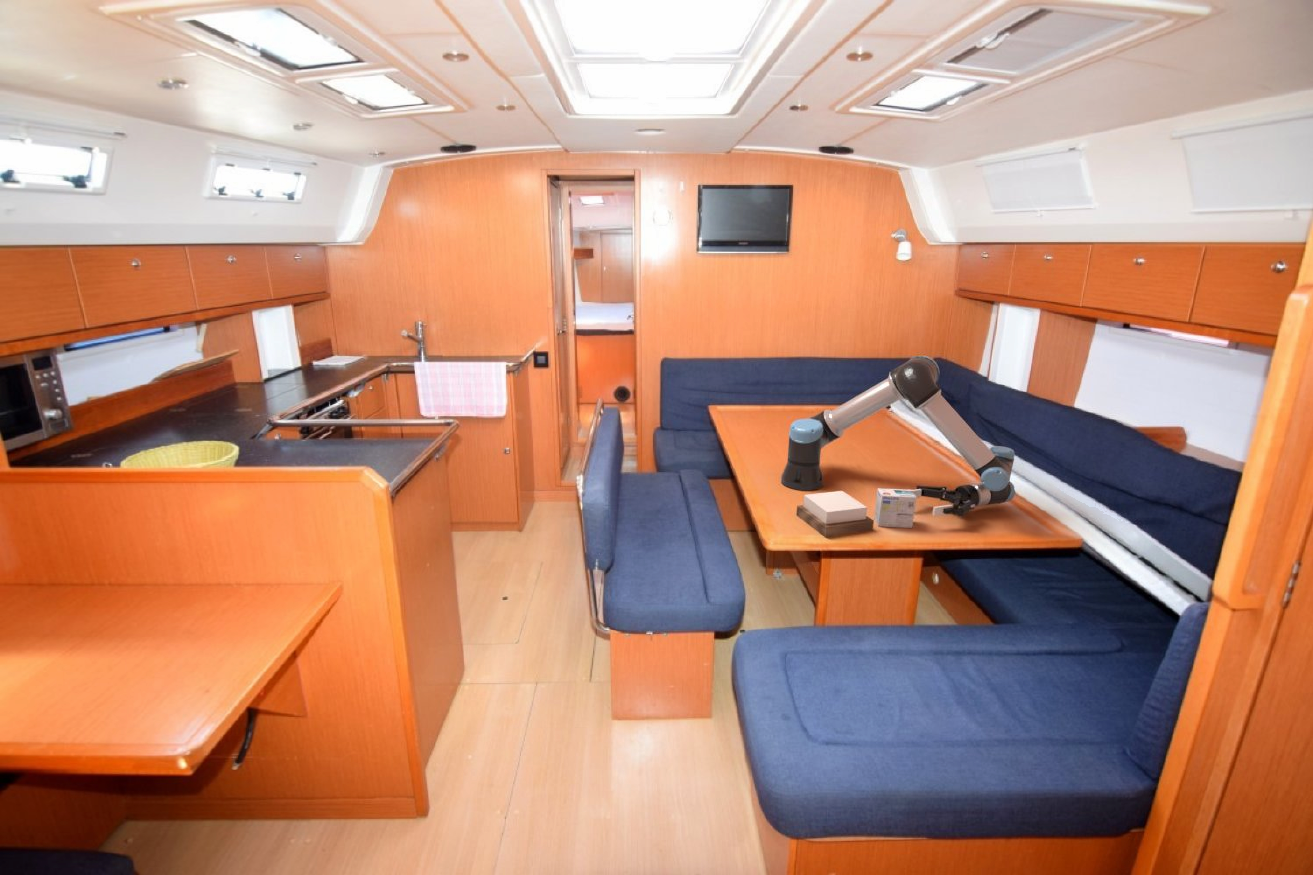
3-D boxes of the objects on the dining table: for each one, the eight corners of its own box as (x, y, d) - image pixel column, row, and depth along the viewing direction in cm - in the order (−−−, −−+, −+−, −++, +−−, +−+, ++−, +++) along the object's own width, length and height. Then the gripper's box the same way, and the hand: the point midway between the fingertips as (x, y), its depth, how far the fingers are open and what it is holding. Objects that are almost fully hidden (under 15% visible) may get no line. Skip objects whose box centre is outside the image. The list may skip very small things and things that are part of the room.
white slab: (803, 506, 200) (804, 494, 199) (840, 501, 204) (842, 490, 203) (825, 524, 188) (827, 512, 186) (865, 519, 191) (867, 507, 190)
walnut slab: (796, 516, 202) (797, 505, 201) (840, 510, 207) (841, 499, 206) (825, 539, 187) (826, 527, 186) (872, 532, 192) (873, 520, 191)
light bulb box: (906, 519, 199) (911, 488, 196) (913, 528, 193) (917, 496, 190) (873, 518, 200) (876, 487, 197) (878, 526, 194) (882, 495, 191)
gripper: (1000, 521, 194) (945, 530, 187) (942, 492, 216) (891, 499, 210) (1004, 499, 191) (949, 507, 185) (945, 472, 214) (894, 478, 208)
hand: (918, 503), depth 197 cm, fingers open, 13 cm apart
